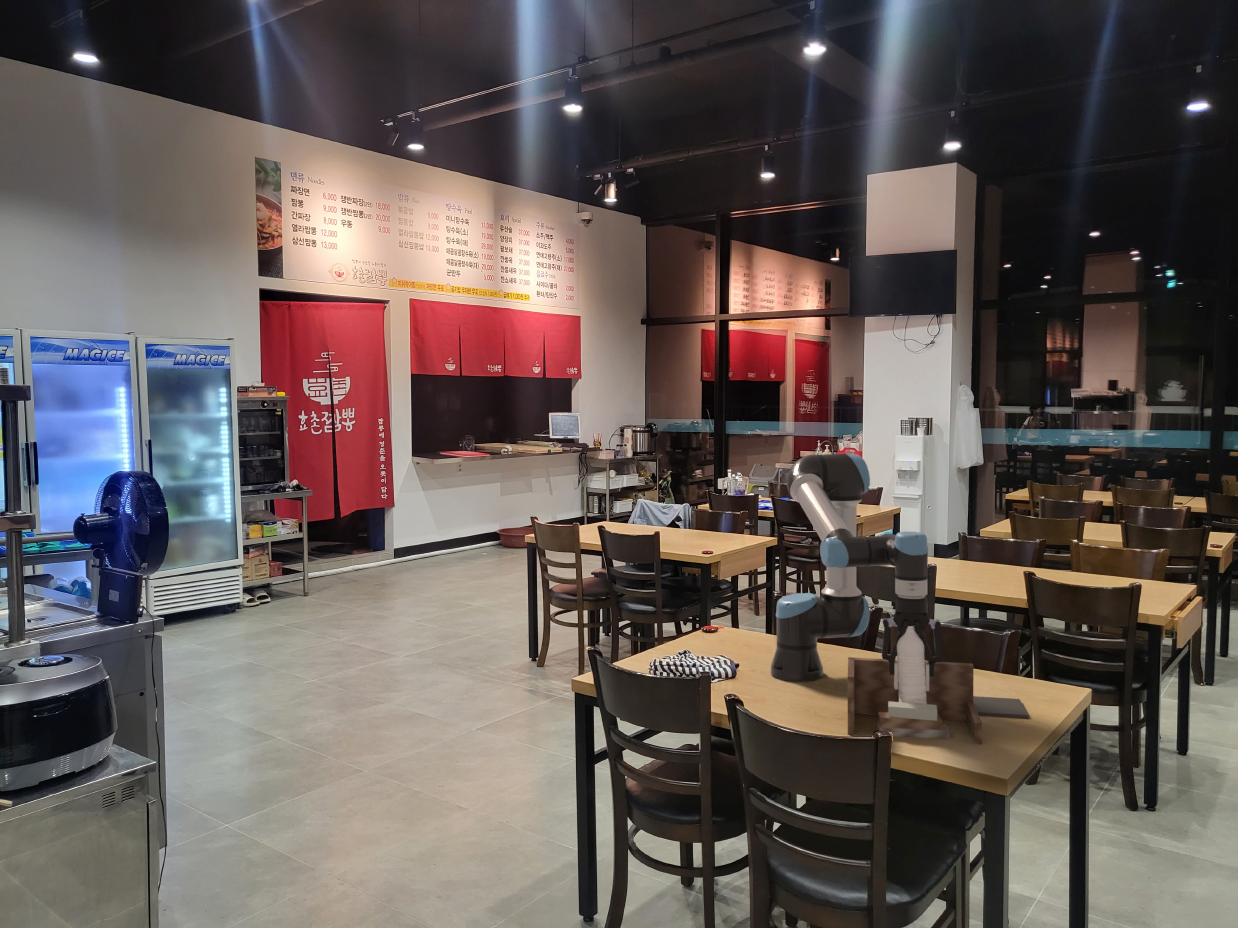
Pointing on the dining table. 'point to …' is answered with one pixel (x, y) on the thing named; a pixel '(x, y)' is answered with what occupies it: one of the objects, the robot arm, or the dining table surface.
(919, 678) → the water bottle
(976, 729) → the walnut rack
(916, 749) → the dining table surface
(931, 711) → the offcut top
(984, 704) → the rubber mat
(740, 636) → the dining table surface
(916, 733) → the offcut bottom
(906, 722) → the offcut middle
